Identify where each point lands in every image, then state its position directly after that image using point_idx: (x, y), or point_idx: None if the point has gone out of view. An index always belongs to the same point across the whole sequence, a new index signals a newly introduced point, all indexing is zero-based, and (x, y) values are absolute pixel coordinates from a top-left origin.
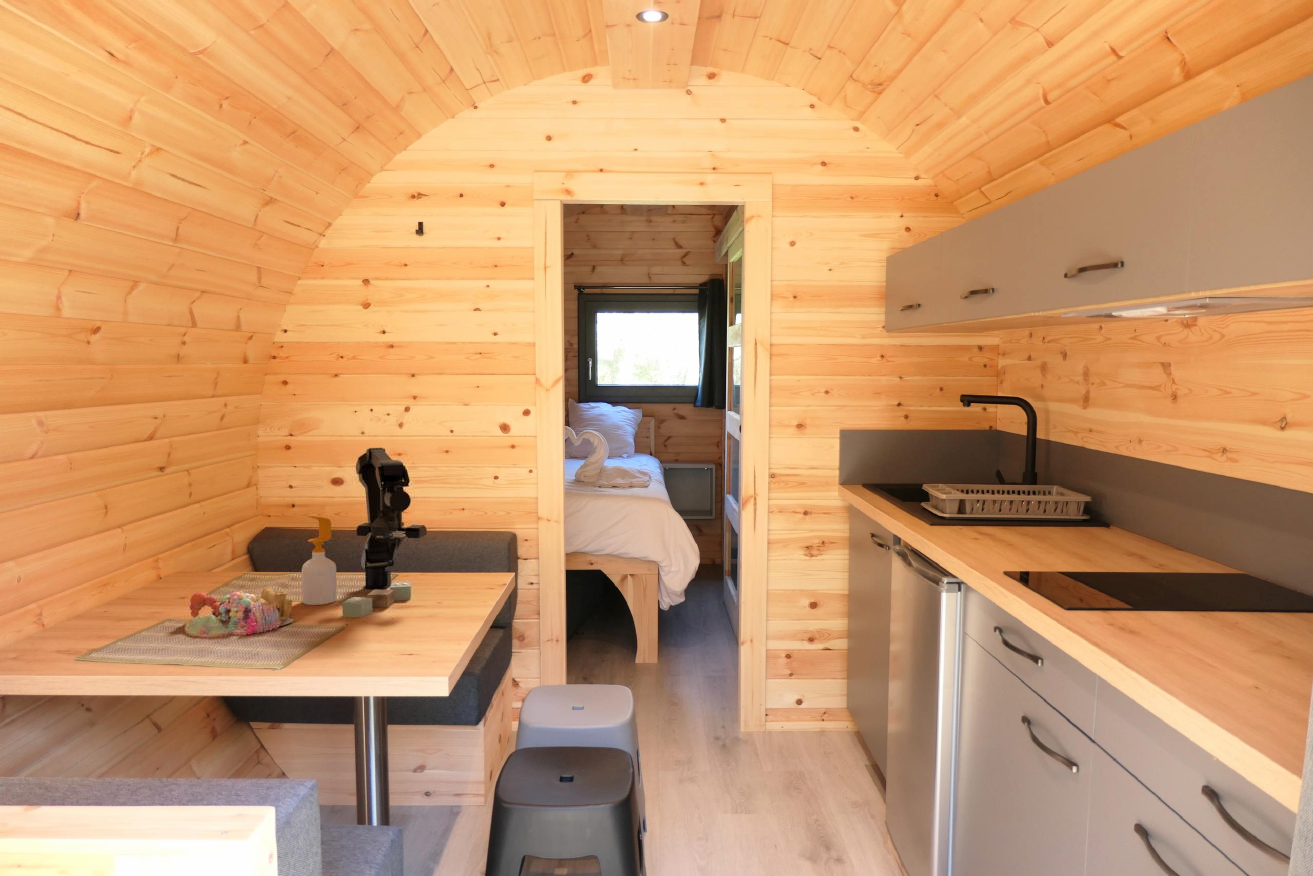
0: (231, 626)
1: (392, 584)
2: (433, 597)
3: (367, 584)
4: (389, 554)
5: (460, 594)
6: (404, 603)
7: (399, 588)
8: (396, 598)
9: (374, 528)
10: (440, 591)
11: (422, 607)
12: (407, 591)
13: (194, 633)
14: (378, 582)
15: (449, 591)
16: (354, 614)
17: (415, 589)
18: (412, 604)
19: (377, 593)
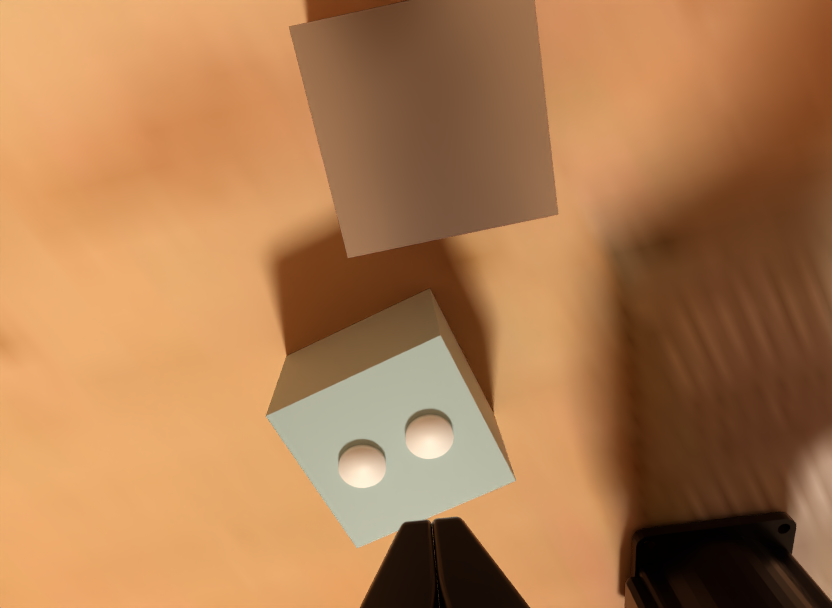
0: None
1: (475, 433)
2: (148, 449)
3: (779, 558)
4: (465, 605)
5: (10, 561)
6: (263, 239)
7: (359, 365)
8: (385, 314)
9: None
10: (205, 588)
11: (22, 157)
12: (297, 380)
13: None
14: (698, 574)
15: (143, 602)
16: None
17: None
18: (176, 227)
19: (442, 60)
